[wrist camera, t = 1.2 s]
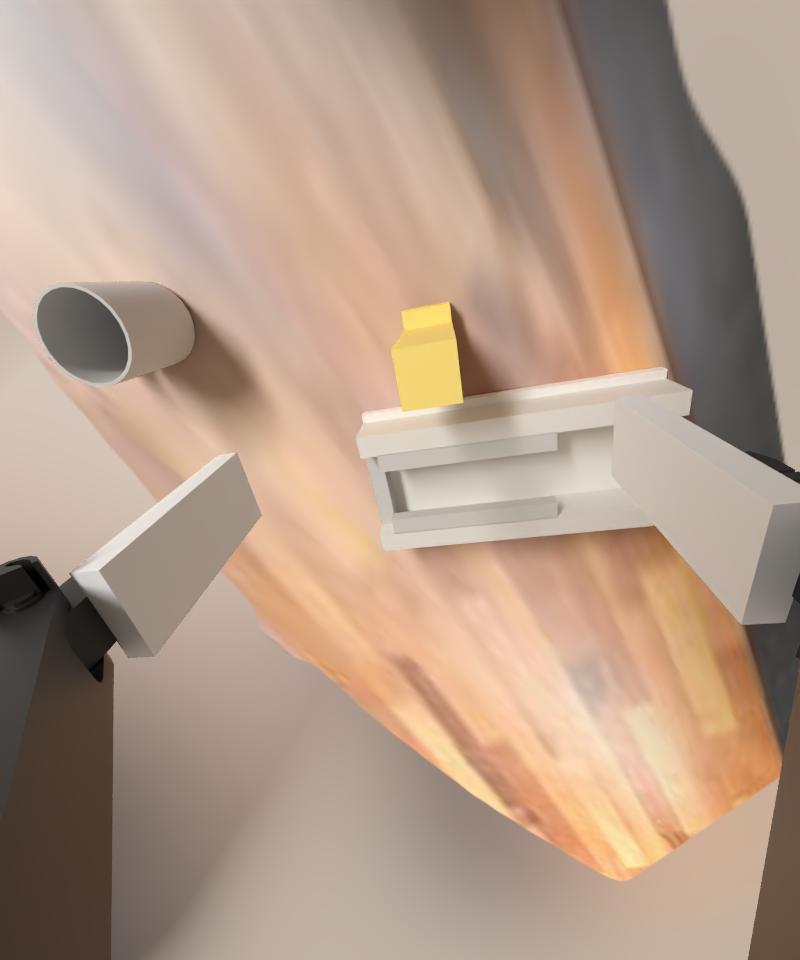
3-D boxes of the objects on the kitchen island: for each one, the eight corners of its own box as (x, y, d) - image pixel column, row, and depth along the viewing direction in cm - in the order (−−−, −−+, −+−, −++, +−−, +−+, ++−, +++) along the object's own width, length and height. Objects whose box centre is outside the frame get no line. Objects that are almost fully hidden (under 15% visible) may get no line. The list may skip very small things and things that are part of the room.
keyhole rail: (363, 412, 39) (353, 429, 34) (661, 366, 34) (694, 380, 30) (390, 529, 45) (385, 557, 40) (646, 503, 40) (671, 531, 36)
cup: (212, 350, 37) (151, 369, 29) (129, 382, 40) (52, 408, 32) (169, 268, 34) (88, 266, 26) (82, 308, 37) (-16, 317, 29)
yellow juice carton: (403, 310, 34) (386, 326, 24) (449, 301, 34) (453, 313, 23) (415, 387, 37) (406, 431, 27) (458, 380, 37) (465, 423, 26)
